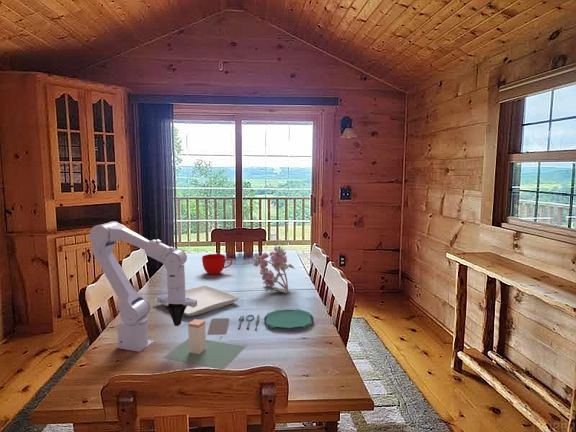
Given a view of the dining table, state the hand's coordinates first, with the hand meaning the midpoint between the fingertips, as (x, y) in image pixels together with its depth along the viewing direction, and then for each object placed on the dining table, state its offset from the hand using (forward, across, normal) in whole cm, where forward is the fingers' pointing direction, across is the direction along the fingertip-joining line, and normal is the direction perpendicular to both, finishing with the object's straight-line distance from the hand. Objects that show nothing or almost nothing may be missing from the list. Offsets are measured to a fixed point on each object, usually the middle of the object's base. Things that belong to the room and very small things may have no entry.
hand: (177, 324), depth 133 cm
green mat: (+8, -10, 0) cm, 13 cm away
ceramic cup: (+9, +32, -86) cm, 92 cm away
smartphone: (+9, -4, -20) cm, 22 cm away
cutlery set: (+9, -24, -32) cm, 41 cm away
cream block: (+8, -8, 0) cm, 11 cm away
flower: (+9, -8, -70) cm, 71 cm away
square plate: (+9, +16, -39) cm, 43 cm away
